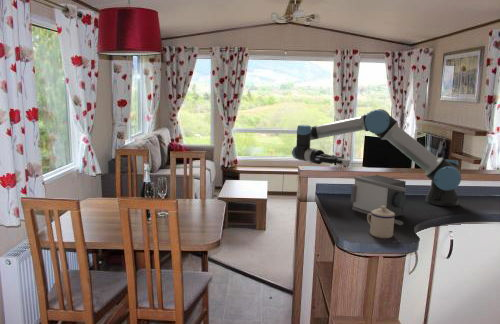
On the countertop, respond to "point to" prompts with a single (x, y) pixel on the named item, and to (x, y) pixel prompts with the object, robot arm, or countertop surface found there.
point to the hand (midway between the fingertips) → (348, 163)
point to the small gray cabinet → (394, 195)
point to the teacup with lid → (381, 222)
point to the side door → (368, 195)
